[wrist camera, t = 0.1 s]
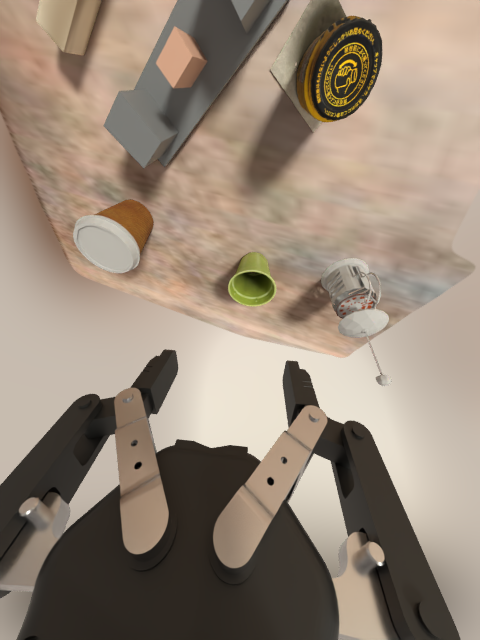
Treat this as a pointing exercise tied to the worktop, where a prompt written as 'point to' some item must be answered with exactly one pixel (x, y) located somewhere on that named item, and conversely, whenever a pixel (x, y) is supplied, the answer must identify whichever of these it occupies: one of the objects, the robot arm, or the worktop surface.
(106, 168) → the worktop surface
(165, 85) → the display stand
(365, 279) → the french press
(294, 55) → the condiment
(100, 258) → the disposable coffee cup
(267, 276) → the plant pot
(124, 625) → the robot arm
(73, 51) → the ash bar
